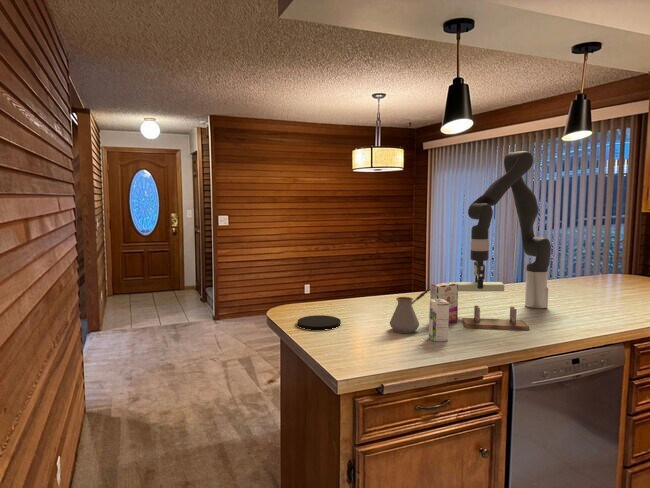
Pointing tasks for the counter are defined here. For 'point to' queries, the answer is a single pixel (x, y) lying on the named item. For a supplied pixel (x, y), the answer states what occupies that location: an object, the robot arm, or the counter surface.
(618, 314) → the counter surface
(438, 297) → the candy bar box
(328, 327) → the wireless charger
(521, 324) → the peg rack
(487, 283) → the shelf board
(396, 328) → the coffee pot
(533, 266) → the robot arm
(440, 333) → the syrup box
